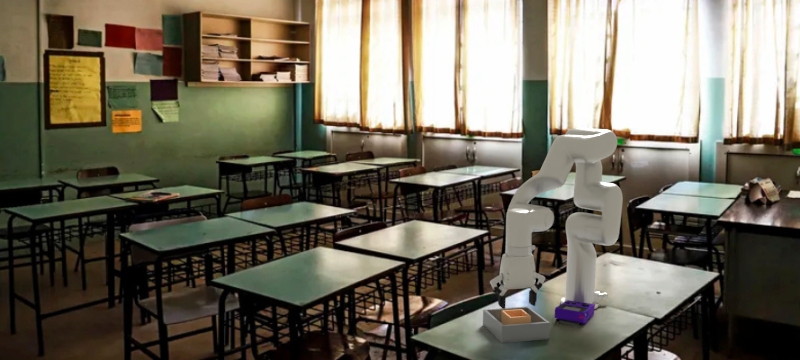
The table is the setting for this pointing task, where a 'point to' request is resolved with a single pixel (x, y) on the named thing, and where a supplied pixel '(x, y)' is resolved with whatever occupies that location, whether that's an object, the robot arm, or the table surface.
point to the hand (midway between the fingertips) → (517, 305)
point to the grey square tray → (516, 326)
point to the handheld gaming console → (574, 312)
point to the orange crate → (515, 317)
